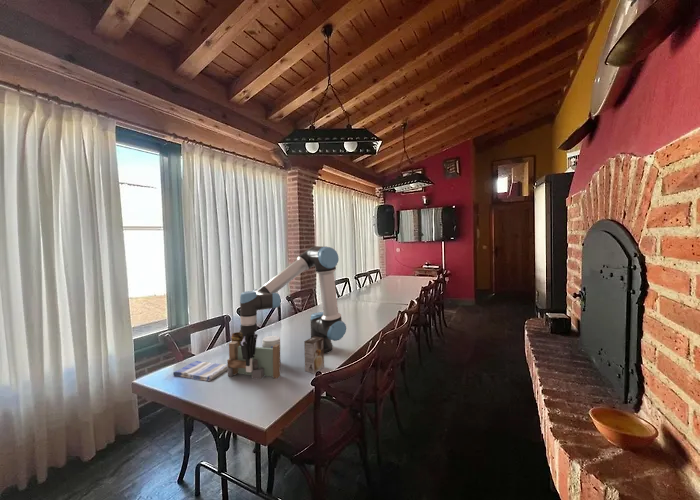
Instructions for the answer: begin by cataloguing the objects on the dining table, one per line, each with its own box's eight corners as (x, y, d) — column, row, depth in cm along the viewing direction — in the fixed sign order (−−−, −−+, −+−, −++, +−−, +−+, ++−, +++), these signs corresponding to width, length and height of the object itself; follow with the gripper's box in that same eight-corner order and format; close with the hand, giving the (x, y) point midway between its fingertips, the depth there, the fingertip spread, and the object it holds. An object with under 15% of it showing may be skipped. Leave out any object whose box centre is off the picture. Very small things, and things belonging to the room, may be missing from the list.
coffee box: (314, 364, 166) (314, 335, 166) (324, 367, 163) (324, 337, 162) (304, 371, 158) (304, 340, 158) (314, 373, 155) (314, 343, 154)
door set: (280, 375, 154) (279, 344, 153) (274, 381, 147) (273, 349, 147) (233, 371, 159) (232, 341, 158) (226, 376, 152) (225, 345, 152)
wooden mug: (241, 357, 177) (240, 326, 176) (226, 352, 185) (225, 323, 184) (253, 352, 185) (252, 323, 184) (239, 348, 192) (238, 319, 191)
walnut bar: (226, 367, 152) (226, 359, 152) (229, 365, 155) (229, 357, 154) (256, 369, 149) (256, 361, 149) (258, 367, 152) (258, 359, 152)
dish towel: (209, 383, 148) (209, 377, 147) (171, 376, 154) (171, 371, 154) (233, 367, 164) (232, 362, 164) (197, 363, 171) (197, 358, 171)
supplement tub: (274, 369, 161) (274, 342, 160) (259, 367, 163) (258, 340, 163) (283, 362, 170) (283, 336, 169) (269, 360, 173) (268, 334, 172)
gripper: (248, 319, 154) (249, 365, 155) (234, 327, 141) (234, 376, 142) (262, 320, 153) (262, 366, 154) (248, 328, 140) (249, 378, 141)
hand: (249, 371), depth 148 cm, fingers closed
